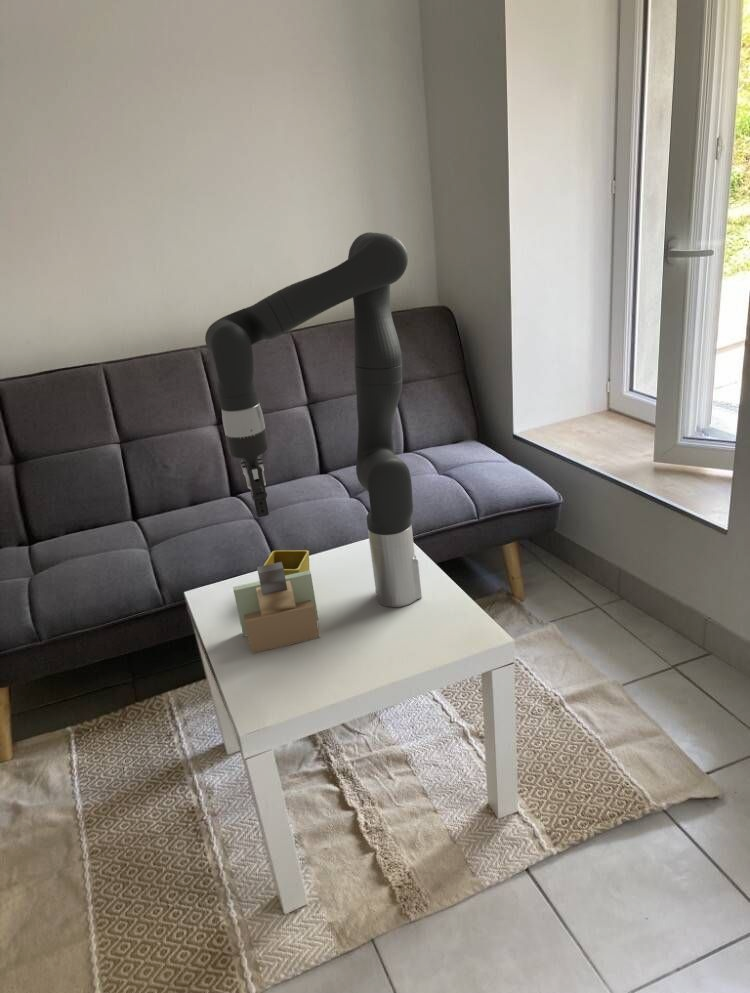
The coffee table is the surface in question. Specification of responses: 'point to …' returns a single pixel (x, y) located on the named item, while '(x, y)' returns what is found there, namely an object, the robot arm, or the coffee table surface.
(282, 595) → the cabinet block
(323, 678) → the coffee table surface
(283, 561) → the flower pot
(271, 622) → the wall board
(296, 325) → the robot arm
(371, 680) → the coffee table surface
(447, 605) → the coffee table surface
